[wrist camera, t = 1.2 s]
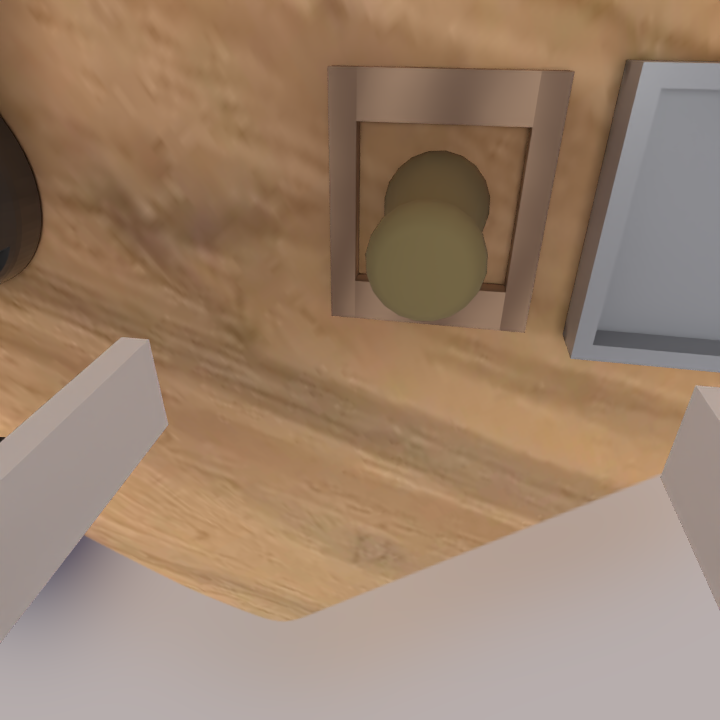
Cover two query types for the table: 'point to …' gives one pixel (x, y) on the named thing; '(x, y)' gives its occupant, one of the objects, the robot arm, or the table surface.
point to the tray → (655, 226)
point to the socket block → (457, 107)
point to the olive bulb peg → (430, 238)
